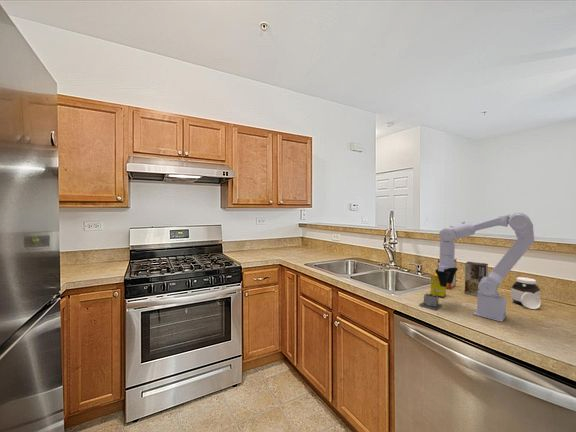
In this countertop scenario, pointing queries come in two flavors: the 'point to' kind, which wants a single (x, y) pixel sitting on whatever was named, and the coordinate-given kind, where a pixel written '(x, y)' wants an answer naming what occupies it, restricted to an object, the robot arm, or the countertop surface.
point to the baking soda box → (450, 286)
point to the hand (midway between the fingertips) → (446, 284)
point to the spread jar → (526, 293)
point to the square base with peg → (429, 306)
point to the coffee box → (474, 276)
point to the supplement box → (437, 286)
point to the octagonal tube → (431, 300)
